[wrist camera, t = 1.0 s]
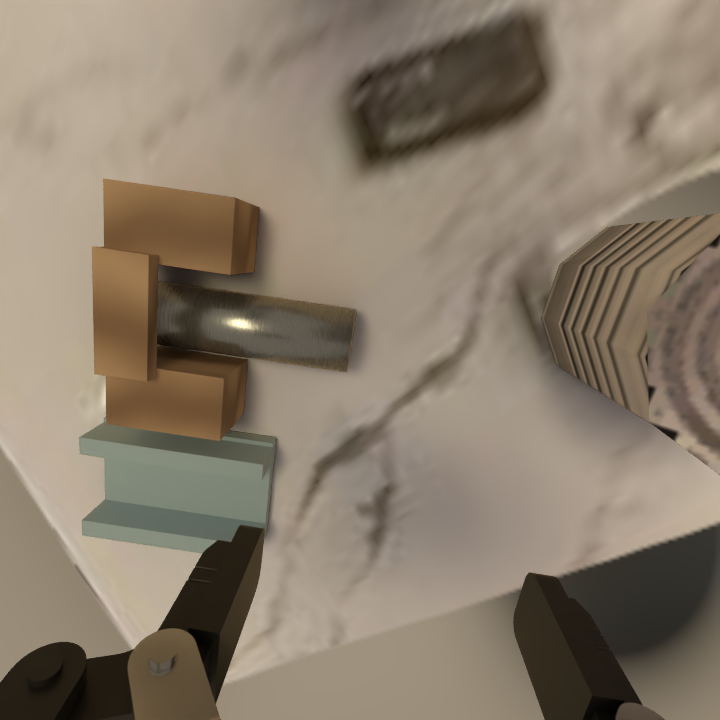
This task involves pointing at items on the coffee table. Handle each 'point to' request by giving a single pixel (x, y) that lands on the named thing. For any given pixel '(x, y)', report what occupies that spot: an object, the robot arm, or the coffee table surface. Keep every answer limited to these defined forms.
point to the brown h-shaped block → (140, 300)
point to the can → (647, 324)
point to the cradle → (179, 486)
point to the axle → (254, 326)
